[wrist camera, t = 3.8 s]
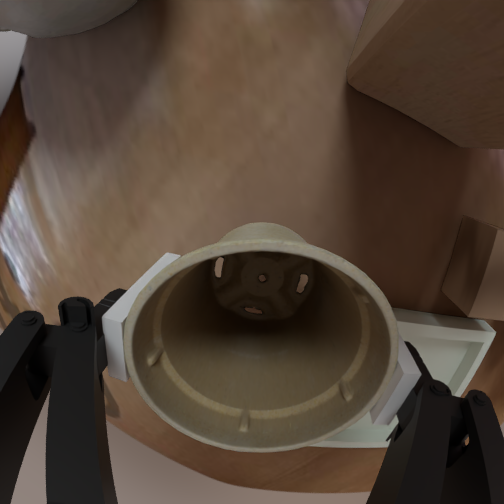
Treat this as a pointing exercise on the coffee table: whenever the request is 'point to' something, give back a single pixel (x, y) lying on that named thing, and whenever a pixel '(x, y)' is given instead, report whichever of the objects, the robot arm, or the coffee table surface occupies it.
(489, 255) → the block
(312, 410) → the flower pot
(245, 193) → the coffee table surface
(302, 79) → the coffee table surface
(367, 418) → the tray
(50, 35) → the skull
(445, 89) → the wooden block
